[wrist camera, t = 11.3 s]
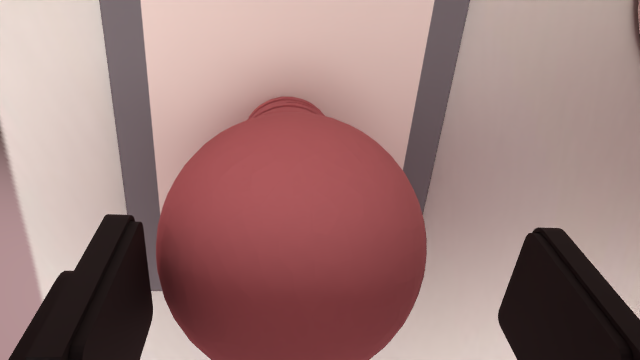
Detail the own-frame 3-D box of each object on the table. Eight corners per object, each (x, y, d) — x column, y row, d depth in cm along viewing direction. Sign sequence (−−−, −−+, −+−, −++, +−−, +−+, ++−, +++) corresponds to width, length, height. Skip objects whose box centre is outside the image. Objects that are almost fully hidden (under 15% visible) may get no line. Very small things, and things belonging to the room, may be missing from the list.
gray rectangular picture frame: (81, -168, 16) (74, -170, 15) (492, -123, 17) (499, -124, 17) (139, 285, 25) (136, 293, 24) (404, 283, 27) (407, 291, 26)
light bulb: (199, 28, 18) (112, 187, 8) (381, 50, 19) (515, 215, 9) (195, 190, 22) (130, 450, 11) (351, 201, 23) (422, 447, 12)
